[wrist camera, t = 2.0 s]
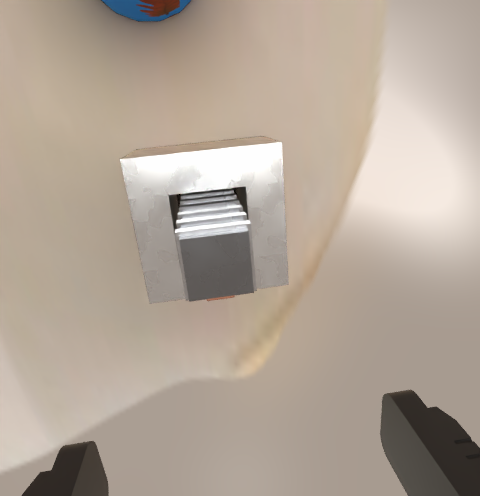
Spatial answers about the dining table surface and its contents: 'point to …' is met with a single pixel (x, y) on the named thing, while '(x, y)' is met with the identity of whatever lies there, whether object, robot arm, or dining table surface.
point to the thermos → (147, 8)
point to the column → (214, 245)
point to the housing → (204, 179)
